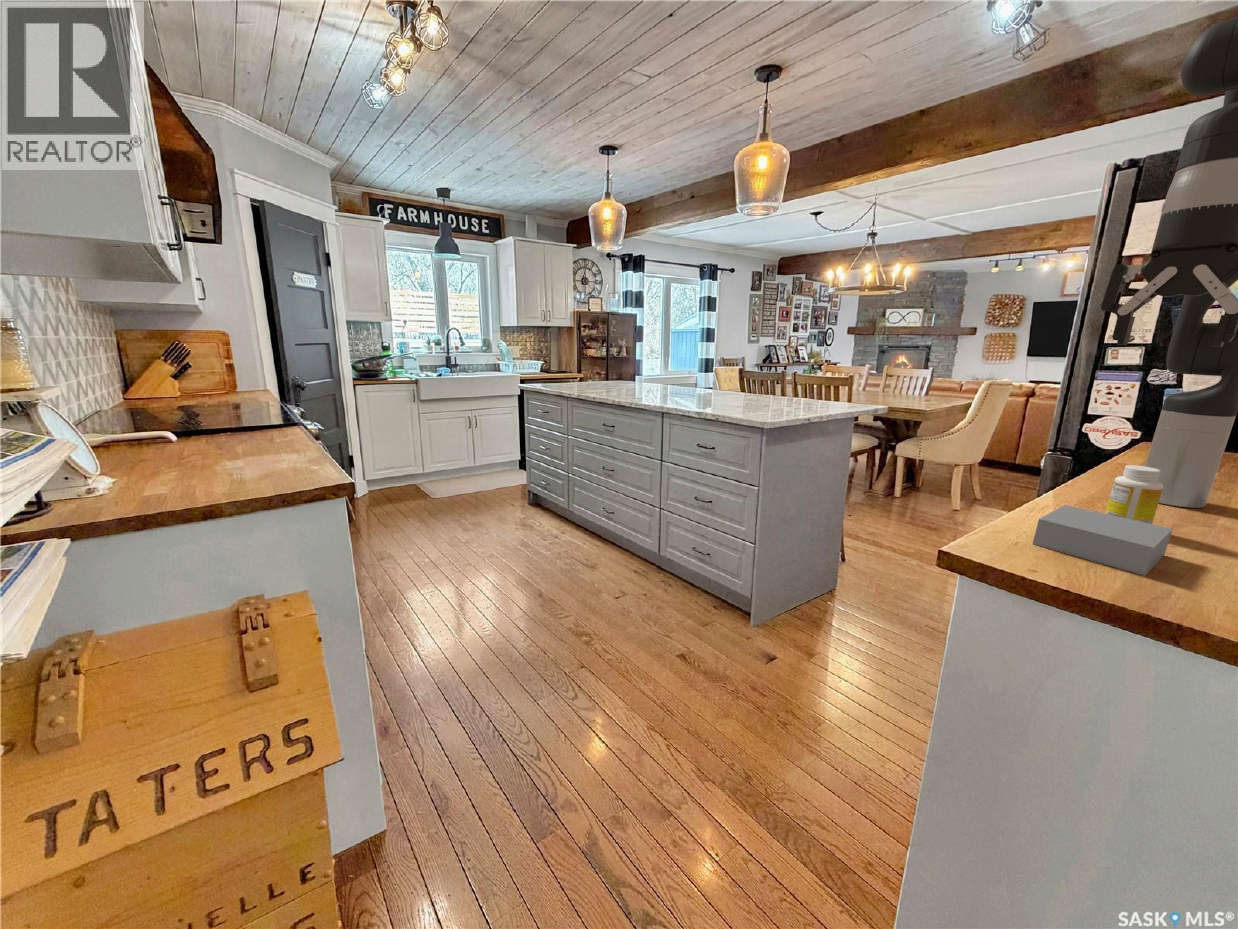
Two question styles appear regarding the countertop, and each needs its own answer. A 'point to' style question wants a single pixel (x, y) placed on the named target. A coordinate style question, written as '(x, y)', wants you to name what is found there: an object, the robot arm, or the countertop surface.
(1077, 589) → the countertop surface
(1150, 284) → the robot arm
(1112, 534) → the slate block
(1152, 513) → the supplement bottle
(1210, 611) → the countertop surface
